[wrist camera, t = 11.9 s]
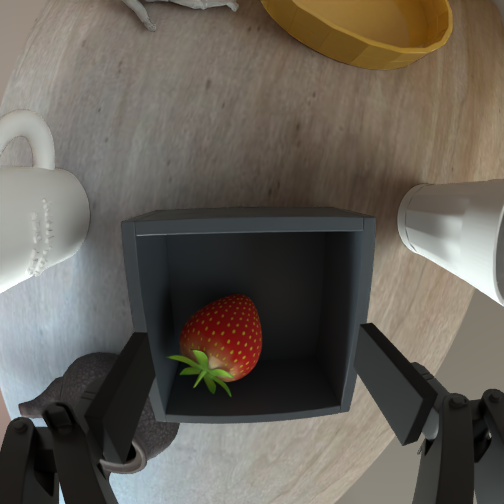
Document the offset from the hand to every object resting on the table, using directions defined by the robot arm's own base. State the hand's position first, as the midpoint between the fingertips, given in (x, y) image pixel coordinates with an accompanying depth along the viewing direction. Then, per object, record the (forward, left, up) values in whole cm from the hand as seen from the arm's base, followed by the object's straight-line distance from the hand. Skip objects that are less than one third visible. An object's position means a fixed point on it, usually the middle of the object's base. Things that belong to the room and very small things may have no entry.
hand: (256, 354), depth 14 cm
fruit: (0, 0, -8) cm, 8 cm away
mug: (+16, -9, -9) cm, 21 cm away
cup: (-16, -6, -9) cm, 19 cm away
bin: (0, 0, -9) cm, 9 cm away
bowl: (-10, -28, -9) cm, 31 cm away
